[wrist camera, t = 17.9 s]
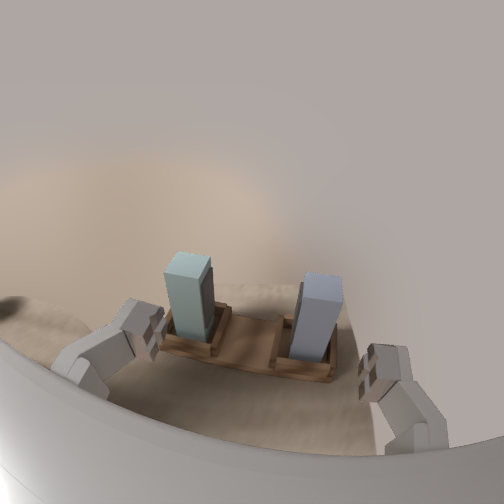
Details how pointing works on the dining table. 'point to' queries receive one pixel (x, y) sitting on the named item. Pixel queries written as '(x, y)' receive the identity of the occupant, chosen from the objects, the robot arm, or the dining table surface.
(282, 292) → the dining table surface
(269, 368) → the wooden double tray
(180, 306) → the teal rectangular block
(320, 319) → the block
